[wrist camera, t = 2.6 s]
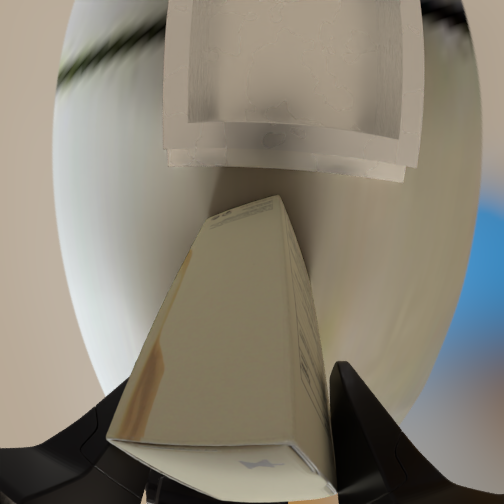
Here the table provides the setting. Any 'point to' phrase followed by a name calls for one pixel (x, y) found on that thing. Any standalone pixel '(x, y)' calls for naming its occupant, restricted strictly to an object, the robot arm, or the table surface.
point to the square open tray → (295, 85)
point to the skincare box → (235, 369)
